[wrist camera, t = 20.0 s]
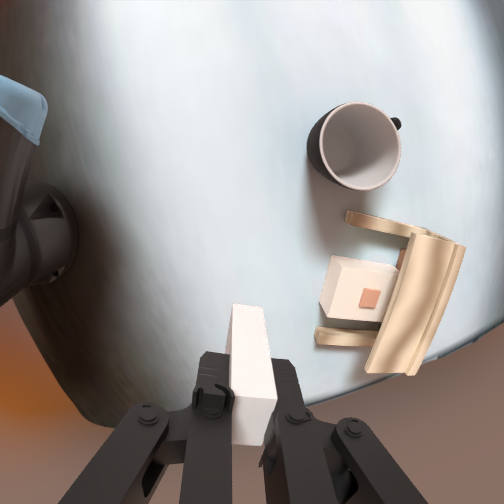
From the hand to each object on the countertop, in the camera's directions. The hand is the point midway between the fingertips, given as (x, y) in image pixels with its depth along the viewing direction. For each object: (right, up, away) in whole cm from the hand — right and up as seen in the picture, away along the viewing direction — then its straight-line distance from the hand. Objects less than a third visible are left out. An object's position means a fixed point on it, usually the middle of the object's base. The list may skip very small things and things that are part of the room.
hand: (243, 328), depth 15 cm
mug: (+12, +18, +21) cm, 30 cm away
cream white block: (+15, 0, +27) cm, 31 cm away
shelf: (+17, 0, +27) cm, 32 cm away
